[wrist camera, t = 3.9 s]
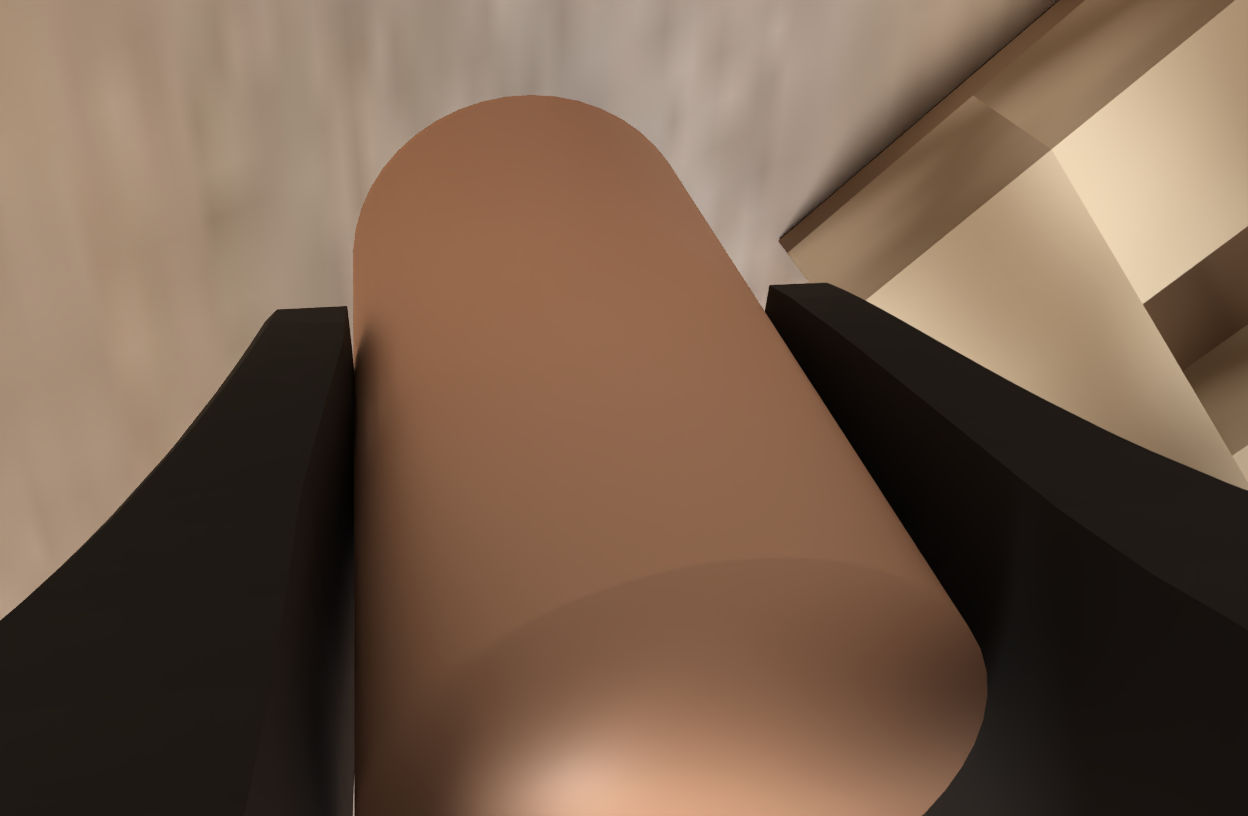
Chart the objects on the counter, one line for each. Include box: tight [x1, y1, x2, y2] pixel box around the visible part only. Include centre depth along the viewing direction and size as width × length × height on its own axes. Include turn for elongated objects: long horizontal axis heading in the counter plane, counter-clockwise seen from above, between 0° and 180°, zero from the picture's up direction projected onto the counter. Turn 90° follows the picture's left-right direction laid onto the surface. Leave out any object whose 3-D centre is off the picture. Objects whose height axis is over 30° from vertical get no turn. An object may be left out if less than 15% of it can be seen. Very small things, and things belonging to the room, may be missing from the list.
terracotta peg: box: [353, 95, 987, 816], centre depth 9 cm, size 4×4×7 cm
